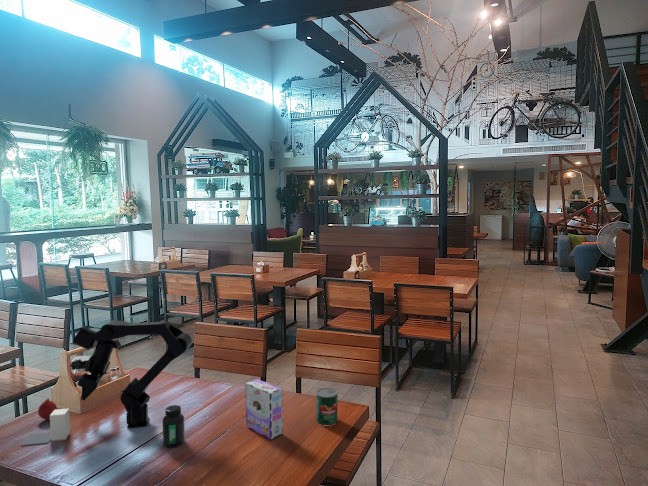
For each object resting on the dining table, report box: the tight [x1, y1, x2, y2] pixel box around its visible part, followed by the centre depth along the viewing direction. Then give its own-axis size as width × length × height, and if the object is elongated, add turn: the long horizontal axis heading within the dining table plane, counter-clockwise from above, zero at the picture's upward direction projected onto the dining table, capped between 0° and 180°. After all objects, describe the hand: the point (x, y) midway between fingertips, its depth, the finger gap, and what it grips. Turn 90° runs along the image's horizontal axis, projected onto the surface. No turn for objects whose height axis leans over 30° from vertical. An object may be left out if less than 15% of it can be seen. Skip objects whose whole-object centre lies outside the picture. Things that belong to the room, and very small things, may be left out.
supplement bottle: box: [162, 404, 186, 449], centre depth 151 cm, size 7×7×12 cm
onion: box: [37, 397, 58, 421], centre depth 167 cm, size 6×6×8 cm
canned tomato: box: [315, 387, 339, 426], centre depth 166 cm, size 8×8×11 cm
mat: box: [21, 432, 52, 447], centre depth 153 cm, size 8×7×1 cm
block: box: [49, 407, 71, 442], centre depth 154 cm, size 4×4×9 cm
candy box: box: [245, 378, 284, 440], centre depth 159 cm, size 14×6×16 cm, turn 47°
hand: (86, 393), depth 163 cm, fingers open, 9 cm apart
